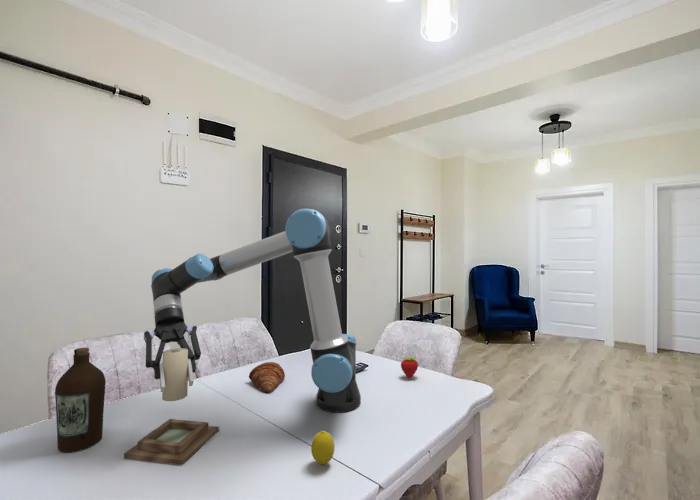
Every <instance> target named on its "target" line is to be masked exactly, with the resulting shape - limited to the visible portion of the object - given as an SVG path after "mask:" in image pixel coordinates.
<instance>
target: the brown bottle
mask: <svg viewBox="0 0 700 500" xmlns="http://www.w3.org/2000/svg"><path fill="white" fill-rule="evenodd" d="M73 353H74V354H73V359H72V360H73V364H72V365H71V366H70V367H69V368H68V369H67V370H66V371H65V372H64V373H63V374H62V375H61V376H60V378H59V379H58V380H57V382H56V385H55V387H54V389H55V390H54V397H55V412H56V413H55V415H56V433H57V436H56V439H57V440H56V441H57V445H56V446H57V450H58V451H59V452H61V453H66V454H67V453H75V452H79V451H83V450H86V449H88V448H91V447H93V446H95V445H96V444H98V443H99V442H100V441H101V440H102V439H103V431H104V429H103V428H104V411H105V406H104V405H105V398H106V397H105V396H106V395H105V394H106V385H107V384H106V382H107V381H106V376H105V375H104V372H103V371H102V370H101V369H100V368H99V367H97V366H95V365H94V364H93V363H91V362H90V348H89V347H79V348H75V349H74V350H73Z"/></svg>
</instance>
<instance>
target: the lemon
mask: <svg viewBox="0 0 700 500" xmlns="http://www.w3.org/2000/svg"><path fill="white" fill-rule="evenodd" d="M310 449H311V455H312V458H313V460H315V462H316V463H318V464H320V465H326V464H327V463H329V462H330V461H331V460H332V459H333V457H334V453H335V442H334V438H333V436H332V435H331V433H329V432H327V431H325V430H321V431H318V432H317V433H316V434H314V437H313V439H312V440H311V448H310Z"/></svg>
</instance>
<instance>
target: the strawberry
mask: <svg viewBox="0 0 700 500" xmlns="http://www.w3.org/2000/svg"><path fill="white" fill-rule="evenodd" d="M416 359H417V358H416V357H412V355H411V354H409V356H406V358H404V359H402V360H401V362H400V367H401V370H402V372H403V373H404V375H405V376H406V377H407V378H408V379H409V378H410V379H412V378H413V376H414V375H415V374H416V372H417V370H418V368H419V363H418V361H417V360H416Z"/></svg>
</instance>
